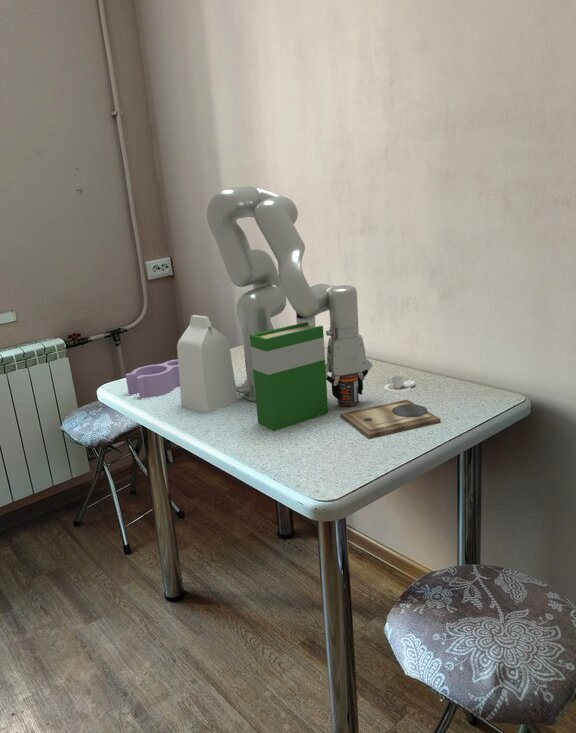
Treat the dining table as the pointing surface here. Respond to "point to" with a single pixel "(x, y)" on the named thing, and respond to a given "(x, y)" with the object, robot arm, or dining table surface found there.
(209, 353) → the milk
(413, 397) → the dining table surface
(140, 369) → the clip
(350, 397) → the supplement bottle
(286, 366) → the hardback book
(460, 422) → the dining table surface
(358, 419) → the brown flat wooden board
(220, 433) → the dining table surface
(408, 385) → the teacup and saucer
